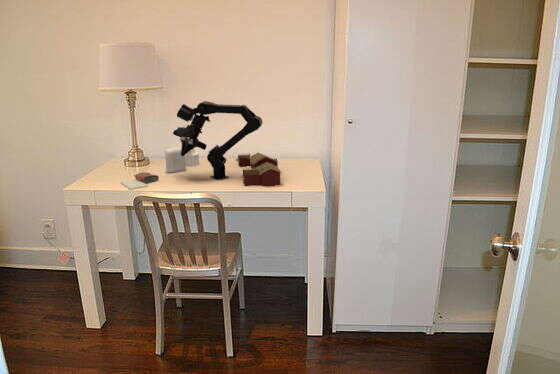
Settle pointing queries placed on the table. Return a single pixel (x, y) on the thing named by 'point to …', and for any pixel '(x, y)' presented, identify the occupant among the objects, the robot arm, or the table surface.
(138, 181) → the mat
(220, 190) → the table surface
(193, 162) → the base with upright slab
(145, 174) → the lighter
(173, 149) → the photo printer
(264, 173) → the toy houses
